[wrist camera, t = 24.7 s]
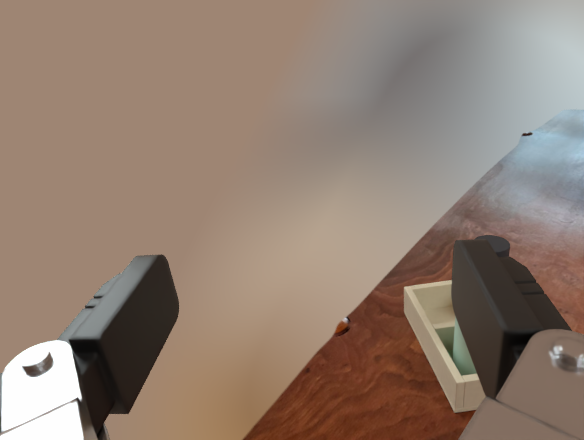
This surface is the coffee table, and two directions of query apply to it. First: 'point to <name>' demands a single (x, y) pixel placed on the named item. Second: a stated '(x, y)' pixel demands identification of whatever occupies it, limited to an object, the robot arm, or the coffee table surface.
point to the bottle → (459, 347)
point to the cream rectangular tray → (441, 341)
